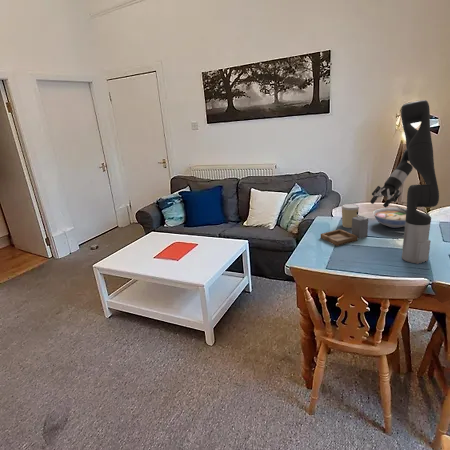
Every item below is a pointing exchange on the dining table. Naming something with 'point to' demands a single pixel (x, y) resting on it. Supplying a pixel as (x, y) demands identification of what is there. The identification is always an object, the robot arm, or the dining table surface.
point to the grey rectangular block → (360, 226)
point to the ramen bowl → (391, 216)
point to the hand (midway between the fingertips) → (377, 204)
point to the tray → (339, 237)
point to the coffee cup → (349, 214)
